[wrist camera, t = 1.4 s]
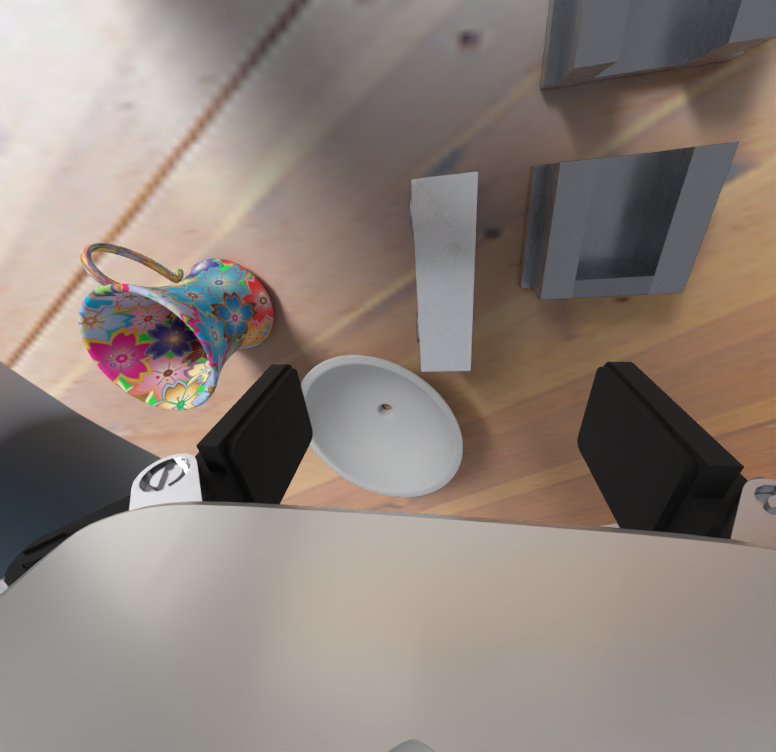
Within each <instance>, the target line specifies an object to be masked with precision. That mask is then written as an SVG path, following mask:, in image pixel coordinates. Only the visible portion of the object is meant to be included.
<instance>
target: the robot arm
mask: <svg viewBox="0 0 776 752" xmlns="http://www.w3.org/2000/svg"><path fill="white" fill-rule="evenodd" d="M312 437H313V430H312V426H311V422H310V418H309V414H308V411H307V407H306V403H305V399H304V395H303V392H302V388H301V384H300V380H299V376H298V373H297V371H296V369H292V367H291V366H290V365H271V366H270V367H269V368H268V369H267V370H266V371H265V372H264V374H263V375H262V376H261V377H260V378H259V379H258V380H257V381H256V382H255V383H254V384H253V385H252V386H251V387H250V389H249V390H248V391H247V392H246V393H245V394H244V395H243V396H242V397H241V398H240V399H239V400H238V401H237V403H236V404H235V405H234V406H233V407H232V408H231V409H230V410H229V411H228V412H227V413H226V414H225V415H224V416H223V418H222V419H221V420H220V421H219V422H218V423H217V424H216V425H215V426H214V427H213V428H212V429H211V430H210V432H209V433H208V434H207V435H206V436H205V437H204V438H203V439H202V440H201V441H200V442H199V443H198V444H197V445H196V446H197V448H198V450H199V453H198V454H197V455H196V456H195V457H194V456H192V455H191V454H184V453H182V454H174V455H171V456H168V457H165V458H163V459H161V460H159V461H156V462H155V463H153V464H151V465H150V466H148V467H147V468H146V469H145V470H143V471H142V472H141V473H140V474H139V475H138V476H137V478H136V479H135V480H134V482H133V485H132V489H131V495H130V496H127V497H125V498H123V499H121V500H119V501H117V502H115V503H112V504H110V505H108V506H106V507H104V508H101V509H99V510H97V511H95V512H93V513H90V514H88V515H86V516H84V517H82V518H79V519H78V520H75V521H73V522H71V523H69V524H66V525H64V526H62V527H60V528H58V529H55V530H54V531H51V532H50V533H47V534H45V535H43V536H41V537H40V538H38V539H36V540H35V541H33V542H32V543H31V544H29V546H27V547H26V548H25V549H24V550H23V551H22V552H21V553H20V554H19V555H18V556H17V557H16V558H15V559H14V561H13V562H12V563H11V564H10V566H9V568H8V569H7V571H6V573H5V578H3V579H2V580H0V752H776V480H772V479H754V480H751V481H747V480H746V479H745V478H744V477H743V476H742V475H741V474H740V472H741V471H742V469H743V468H744V466H743V465H741V464H740V463H739V462H738V461H737V460H736V459H735V458H734V457H733V456H732V455H731V454H730V453H729V452H728V451H726V450H725V449H724V448H723V447H722V446H721V445H720V444H719V443H718V442H717V441H716V440H715V439H714V438H713V437H712V436H710V435H709V434H708V433H707V432H706V431H705V430H704V429H703V428H702V427H701V426H700V425H699V424H698V423H697V422H696V421H694V420H693V419H692V418H691V417H690V416H689V415H688V414H687V413H686V412H685V411H684V410H683V409H682V408H681V407H679V406H678V405H677V404H676V403H675V402H674V401H673V400H672V399H671V398H670V397H669V396H668V395H667V394H666V393H665V392H663V391H662V390H661V389H660V388H659V387H658V386H657V385H656V384H655V383H654V382H653V381H652V380H651V379H650V378H649V377H647V376H646V375H645V374H644V373H643V372H642V371H641V370H640V369H639V368H638V367H637V366H636V365H635V364H634V363H632V362H607V363H606V364H605V365H604V367H599V368H598V369H597V372H596V375H595V379H594V382H593V386H592V389H591V393H590V396H589V400H588V403H587V407H586V410H585V414H584V417H583V421H582V425H581V428H580V432H579V435H578V447H579V450H580V452H581V454H582V456H583V458H584V460H585V462H586V464H587V465H588V467H589V469H590V471H591V473H592V475H593V477H594V479H595V481H596V483H597V485H598V487H599V489H600V491H601V492H602V494H603V496H604V498H605V500H606V502H607V504H608V506H609V508H610V510H611V512H612V514H613V516H614V517H615V519H616V521H617V523H618V525H619V527H620V528H611V527H599V526H586V525H572V524H559V523H545V522H532V521H519V520H505V519H492V518H477V517H463V516H449V515H435V514H420V513H405V512H391V511H376V510H361V509H345V508H329V507H313V506H298V505H282V504H280V502H281V500H282V498H283V496H284V494H285V492H286V490H287V489H288V487H289V485H290V483H291V481H292V479H293V477H294V475H295V473H296V471H297V469H298V467H299V465H300V463H301V461H302V459H303V457H304V455H305V453H306V451H307V449H308V447H309V445H310V443H311V441H312Z"/></svg>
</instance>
